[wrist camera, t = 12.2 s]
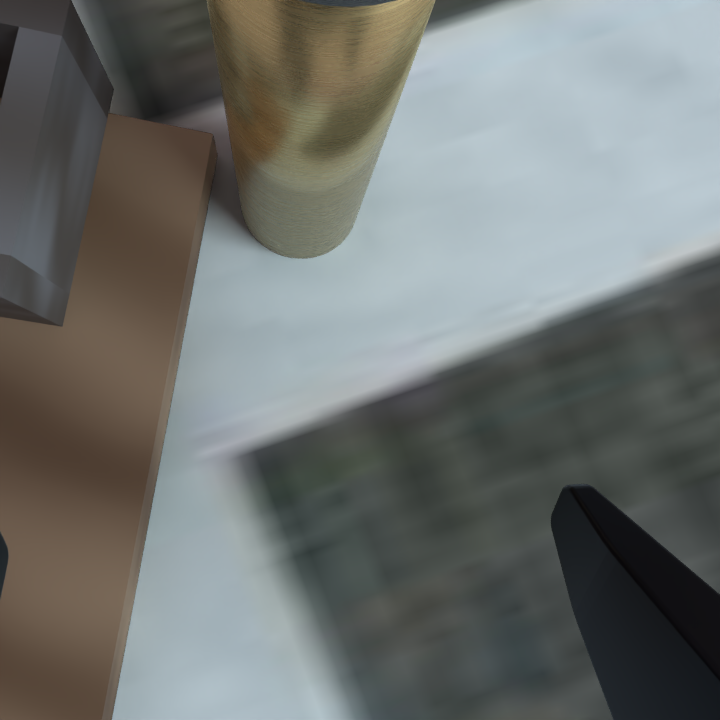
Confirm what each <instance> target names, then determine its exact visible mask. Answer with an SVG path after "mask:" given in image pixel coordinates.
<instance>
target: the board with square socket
mask: <svg viewBox="0 0 720 720" xmlns="http://www.w3.org/2000/svg"><path fill="white" fill-rule="evenodd" d="M113 90H114V89H113V86H112V84H111V82H110V80H109V78H108V76H107V74H106V72H105V70H104V68H103V66H102V64H101V62H100V59H99V57H98V55H97V53H96V51H95V49H94V47H93V45H92V43H91V41H90V39H89V37H88V34H87V32H86V30H85V28H84V26H83V24H82V22H81V20H80V18H79V16H78V14H77V12H76V10H75V7H74V5H73V3H72V1H71V0H0V532H1V534H2V536H3V538H4V540H5V542H6V544H7V547H8V552H9V559H8V566H7V570H6V575H5V580H4V585H3V589H2V594H1V599H0V720H112V715H113V710H114V704H115V699H116V694H117V688H118V683H119V678H120V672H121V667H122V662H123V656H124V651H125V646H126V640H127V635H128V630H129V624H130V619H131V614H132V608H133V603H134V598H135V592H136V587H137V582H138V576H139V571H140V566H141V560H142V555H143V550H144V544H145V539H146V534H147V528H148V523H149V518H150V512H151V507H152V502H153V496H154V491H155V486H156V481H157V475H158V470H159V465H160V459H161V454H162V449H163V443H164V438H165V433H166V427H167V422H168V417H169V411H170V406H171V401H172V395H173V390H174V385H175V379H176V374H177V369H178V363H179V358H180V353H181V347H182V342H183V337H184V331H185V326H186V321H187V315H188V310H189V305H190V299H191V294H192V289H193V283H194V278H195V273H196V267H197V262H198V257H199V251H200V246H201V241H202V235H203V230H204V225H205V219H206V214H207V209H208V203H209V198H210V193H211V187H212V182H213V177H214V172H215V166H216V161H217V156H218V155H217V150H216V146H215V141H214V137H213V134H211V133H206V132H201V131H196V130H191V129H186V128H181V127H176V126H171V125H166V124H161V123H156V122H151V121H146V120H141V119H136V118H131V117H127V116H122V115H117V114H112V113H109V109H110V104H111V100H112V95H113Z"/></svg>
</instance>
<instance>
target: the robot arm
mask: <svg viewBox="0 0 720 720" xmlns="http://www.w3.org/2000/svg"><path fill="white" fill-rule="evenodd" d="M551 528H552V532H553V536H554V540H555V544H556V547H557V551H558V555H559V559H560V563H561V567H562V571H563V575H564V578H565V582H566V586H567V590H568V594H569V598H570V601H571V605H572V608H573V612H574V615H575V618H576V621H577V624H578V627H579V629H580V632H581V635H582V637H583V640H584V643H585V645H586V648H587V651H588V653H589V656H590V659H591V661H592V664H593V667H594V669H595V672H596V675H597V677H598V680H599V683H600V685H601V688H602V691H603V693H604V696H605V699H606V701H607V704H608V707H609V709H610V712H611V715H612V717H613V720H720V594H718V593H717V592H716V591H715V590H714V589H713V588H711V587H710V586H709V585H708V584H707V583H706V582H704V581H703V580H702V579H701V578H700V577H698V576H697V575H696V574H695V573H694V572H693V571H691V570H690V569H689V568H688V567H687V566H686V565H684V564H683V563H682V562H681V561H680V560H678V559H677V558H676V557H675V556H674V555H673V554H671V553H670V552H669V551H668V550H667V549H666V548H664V547H663V546H662V545H661V544H660V543H658V542H657V541H656V540H655V539H654V538H653V537H651V536H650V535H649V534H648V533H647V532H645V531H644V530H643V529H642V528H641V527H640V526H638V525H637V524H636V523H635V522H634V521H633V520H631V519H630V518H629V517H628V516H627V515H625V514H624V513H623V512H622V511H621V510H620V509H618V508H617V507H616V506H615V505H614V504H613V503H611V502H610V501H609V500H608V499H607V498H605V497H604V496H603V495H602V494H601V493H600V492H598V491H597V490H596V489H595V488H594V487H592V486H590V485H588V484H573V485H566V486H565V487H564V488H563V489H562V491H561V493H560V496H559V498H558V501H557V503H556V505H555V508H554V510H553V513H552V516H551ZM8 559H9V552H8V547H7V544H6V542H5V540H4V538H3V536H2V534H1V532H0V599H1V594H2V589H3V585H4V580H5V575H6V570H7V566H8Z"/></svg>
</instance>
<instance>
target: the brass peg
mask: <svg viewBox="0 0 720 720" xmlns="http://www.w3.org/2000/svg"><path fill="white" fill-rule="evenodd" d="M434 3H435V0H207V4H208V10H209V16H210V22H211V28H212V34H213V40H214V46H215V52H216V58H217V64H218V70H219V76H220V82H221V88H222V94H223V100H224V106H225V112H226V118H227V125H228V131H229V137H230V143H231V149H232V155H233V161H234V167H235V173H236V179H237V185H238V191H239V197H240V203H241V209H242V214H243V217H244V220H245V222H246V225H247V227H248V228H249V230H250V231H251V233H252V234H253V236H254V237H255V238H256V239H257V240H258V241H259V242H260V243H261V244H262V245H264V246H265V247H266V248H268V249H269V250H271V251H273V252H275V253H277V254H280V255H282V256H286V257H290V258H312V257H317V256H320V255H323V254H325V253H328V252H329V251H331V250H333V249H334V248H336V247H337V246H338V245H340V244H341V243H342V242H343V241H344V240H345V238H346V237H347V236H348V234H349V233H350V231H351V229H352V227H353V225H354V223H355V220H356V217H357V214H358V212H359V209H360V206H361V203H362V201H363V198H364V195H365V192H366V190H367V187H368V184H369V181H370V179H371V176H372V173H373V170H374V168H375V165H376V162H377V159H378V157H379V154H380V151H381V148H382V146H383V143H384V140H385V137H386V135H387V132H388V129H389V126H390V124H391V121H392V118H393V115H394V113H395V110H396V107H397V104H398V102H399V99H400V96H401V93H402V91H403V88H404V85H405V82H406V80H407V77H408V74H409V71H410V69H411V66H412V63H413V60H414V58H415V55H416V52H417V49H418V47H419V44H420V41H421V38H422V36H423V33H424V30H425V27H426V25H427V22H428V19H429V16H430V14H431V11H432V8H433V6H434Z"/></svg>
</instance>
